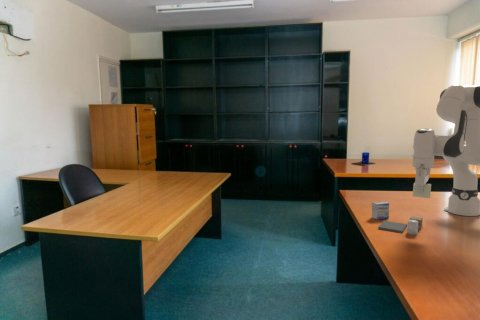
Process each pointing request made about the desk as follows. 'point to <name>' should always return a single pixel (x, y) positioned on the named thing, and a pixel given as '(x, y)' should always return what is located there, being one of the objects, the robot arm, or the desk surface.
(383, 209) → the medicine box
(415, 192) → the sage brick
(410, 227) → the grey plastic egg
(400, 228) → the charcoal pad
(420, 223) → the walnut cube
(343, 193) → the desk surface
